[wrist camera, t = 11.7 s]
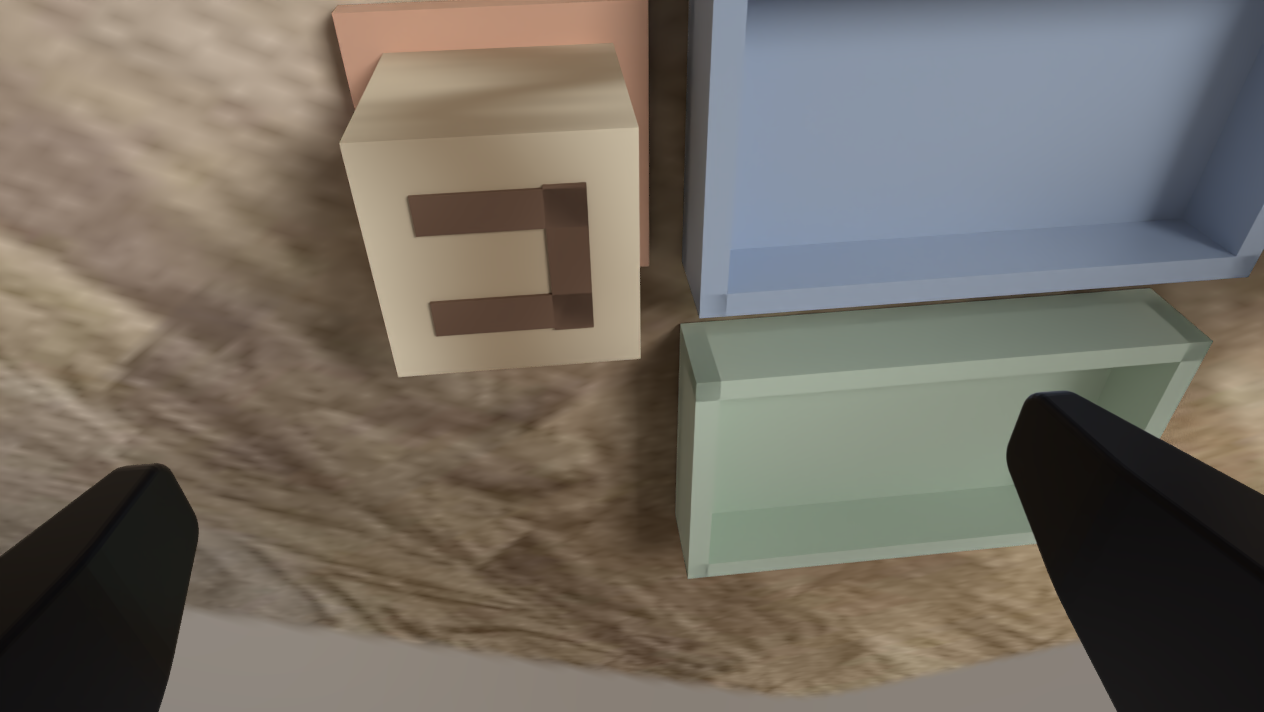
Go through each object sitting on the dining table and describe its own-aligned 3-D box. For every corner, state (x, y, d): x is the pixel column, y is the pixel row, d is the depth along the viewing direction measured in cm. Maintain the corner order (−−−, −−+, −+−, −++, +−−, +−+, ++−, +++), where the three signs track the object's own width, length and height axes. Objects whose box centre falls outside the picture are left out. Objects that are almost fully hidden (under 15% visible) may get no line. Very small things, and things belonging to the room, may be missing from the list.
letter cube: (612, 42, 15) (639, 129, 12) (618, 241, 18) (641, 360, 15) (382, 53, 15) (338, 145, 12) (423, 254, 18) (397, 379, 14)
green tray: (1150, 287, 22) (1213, 340, 20) (1062, 478, 26) (1106, 536, 24) (680, 323, 21) (696, 383, 19) (675, 514, 25) (687, 578, 23)
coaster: (645, -9, 16) (648, -1, 15) (646, 253, 19) (649, 266, 19) (337, 5, 15) (332, 13, 15) (399, 270, 19) (396, 283, 18)
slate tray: (1333, -108, 16) (1448, -88, 14) (1179, 227, 20) (1248, 276, 18) (690, -84, 15) (716, -60, 13) (681, 261, 19) (699, 318, 17)
